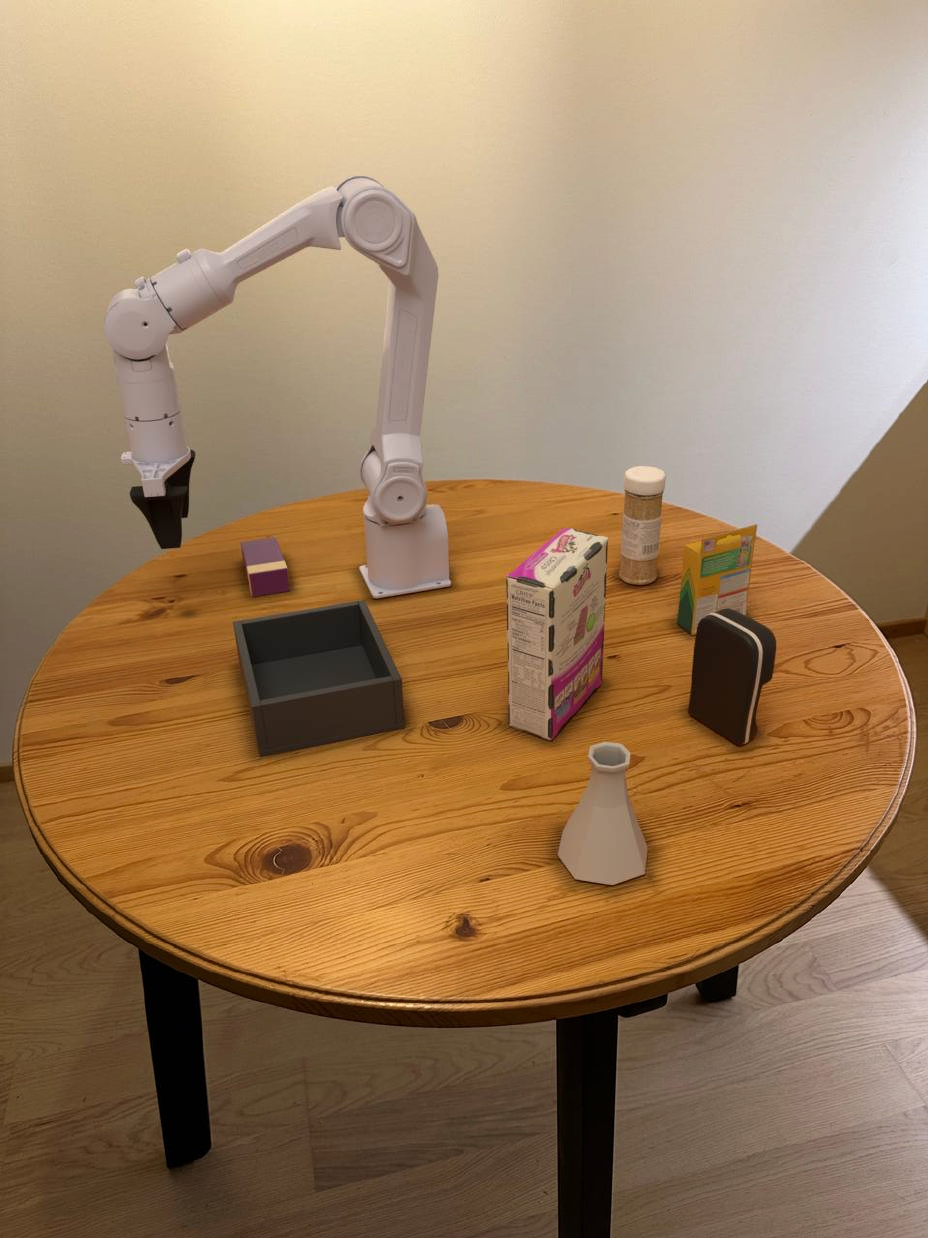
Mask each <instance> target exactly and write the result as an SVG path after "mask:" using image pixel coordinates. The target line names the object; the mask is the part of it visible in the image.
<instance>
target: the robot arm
mask: <svg viewBox="0 0 928 1238" xmlns="http://www.w3.org/2000/svg"><path fill="white" fill-rule="evenodd" d="M417 219H418V218H417V216H416V214H415V213H414V212H413V211H412V209H411V208H410V207H408V206H407V204H406V203H405V202H404V201H403V200H401V198H400V197H399V196H398V195H396V193H394V192H393V191H392V190H391V189H389V188H386V187H385V186H384V185H383V184H382V183H381V182H380V181H378V180H377V179H376V178H374V177H371V176H368V175H364V174H363V175H362V174H358V175H357V174H356V175H352V176H349V177H347V178H345V179H343V180H342V181H341V182H339V184H338V185H337V186H336V187H334V186H333V185H331V186H328V187H326V188H323V189H320V190H319V191H317V192H315V193H313V194H311V195H310V196H308V197H306V198H305V199H303V200H301V201H299V202H297V203H296V204H295V205H293V206H291V207H289V208H288V209H287V210H284V211H283V212H282V213H280V214H279V215H277V216H276V217H274V218H273V219H271V220H269V221H268V222H267V223H265V224H263V225H262V226H260V227H259V228H257V229H256V230H254V231H253V232H251V233H249V234H247V235H246V236H245V237H243V238H241V239H240V240H238V241H237V242H235V243H234V244H232V245H231V246H229V247H227V248H225V250H223V251H221V252H216V251H212V250H209V249H205V248H199V249H197V250H195V251H194V252H191V251H190V250H189V249H188V248H185V249H183V250H181V251H180V252H178V253H176V260H177V261H176V262H175V263H173V264H171V265H169V266H167V267H166V268H164V269H162V270H161V271H159V272H158V273H156V274H154V275H153V276H151V277H149V278H147V279H146V278H145V277H144V276H141V277H139V278H137V279H135V281H134V286H135V287H136V288H126V289H122V290H120V291H119V292H117V293H116V294H114V296H113V297H112V298H111V299H110V301H109V303H108V305H107V310H106V312H105V316H104V319H103V332H104V336H105V339H106V341H107V343H108V344H109V346H110V347H111V348H112V359H113V363H114V364H115V367H116V369H115V378H116V384H117V389H118V394H119V398H120V403H121V407H122V408H121V409H122V413H123V417H124V422H125V427H126V428H125V429H126V432H127V438H128V442H129V447H130V451H124V452H122V454H121V456H120V461H121V465H131V466H133V468H134V470H135V471H136V472H137V474H138V476H139V477H140V481H141V485H135V486H131V488H130V491H129V497H130V500H131V502H132V504H133V505H135V507H136V508H137V509H139V511H140V512H141V514H142V515H143V517H144V518H145V520H146V521H147V523H148V525H149V528H150V530H151V531H152V534H153V536H154V538H155V540H156V543H157V545H158V546H159V548H160V549H161V550H168V549H169V550H170V549H179V548H181V547H182V541H183V524H182V523H183V520H182V519H188V517H189V512H190V481H191V475H192V474H191V473H192V468H193V465H194V462H195V460H196V455H197V454H196V451H195V450H193V449H190V447H189V446H188V442H187V437H186V431H185V423H184V418H183V412H182V407H181V401H180V396H179V395H180V394H179V390H178V384H177V378H176V372H175V368H174V364H173V363H172V361H171V359H170V353H169V348H168V347H169V346H168V338H169V336H171V335H178V334H182V333H183V332H186V331H187V330H188V329H190V328H192V327H193V326H195V325H197V324H199V323H200V322H202V321H204V320H206V319H207V318H209V317H211V316H212V315H215V314H216V313H217V312H219V311H221V310H222V309H224V308H226V307H228V306H230V305H231V304H233V303H234V301H235V298H236V292H237V288H238V285H239V284H240V283H242V282H244V281H246V280H248V279H249V278H251V277H253V276H255V275H257V274H259V273H261V272H264V271H265V270H266V269H268V268H270V267H272V266H275V265H276V264H278V263H280V262H282V261H284V260H285V259H287V258H289V257H291V256H293V255H295V254H297V253H298V252H301V251H302V250H304V249H307V248H310V247H312V248H320V249H328V250H336V251H341V250H342V246H341V241H340V238H344V239H345V240H346V242H347V243H348V245H350V247H351V248H352V249H353V250H355V251H356V252H357V253H359V254H360V255H362V256H364V257H365V258H366V259H368V260H371V261H373V263H375V264H376V265H377V266H378V268H379V269H380V270H381V271H382V272H383V274H384V275H385V276H386V277H387V280H388V289H387V290H388V292H387V301H386V313H385V324H384V333H383V344H382V356H381V367H380V377H379V389H378V399H377V409H376V421H375V425H374V427H373V429H372V431H371V434H370V441H369V445H368V448H367V450H366V452H365V453H364V456H363V457H362V459H361V461H360V464H359V476H360V480H361V481H362V484H363V485H364V487H365V488H366V490H367V493H368V497H367V500H366V501H365V503H364V505H363V507H362V515H363V529H364V540H365V541H364V542H365V552H366V553H365V554H366V564H364V565H359V567H358V568H359V569H358V570H359V572H360V574H361V576H362V578H363V580H364V582H365V585H366V587H367V589H368V591H369V593H370V595H371V597H372V598H373V599H383V598H388V597H395V596H401V595H407V594H412V593H419V592H423V591H424V592H425V591H431V590H437V589H442V588H448V587H451V586H452V580H451V579H450V554H449V552H450V549H449V531H448V524H447V520H446V519H447V518H446V516H445V513H444V511H443V509H442V507H441V506H440V505H439V504H427V503H428V497H429V496H428V495H429V493H428V487H427V485H426V483H425V480H424V477H423V468H424V458H423V457H424V456H423V451H422V443H421V430H422V420H423V411H424V405H425V404H424V403H425V395H426V387H427V377H428V370H429V361H430V360H429V359H430V352H431V343H432V335H433V333H432V332H433V326H434V317H435V308H436V301H437V291H438V282H439V267H438V263H437V261H436V260H435V257H434V255H433V252H432V251H431V249H430V247H429V244H428V242H427V240H426V239H425V236H424V234H423V232H422V230H421V228H420V225H419V223H418V220H417Z"/></svg>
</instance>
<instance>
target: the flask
mask: <svg viewBox="0 0 928 1238" xmlns="http://www.w3.org/2000/svg"><path fill="white" fill-rule="evenodd" d="M631 756H632V754H631V752H630V751H629V750H628V749H627V748H626V746H624V744H623V743H619V742H610V741H602V742H599V743H595V744H592V745H590V746H589V751H588V755H587V761H588V763H589V764H590V766H591V767H590V776H589V779H588V782H587V786H586V788H585V790H584V791H583V793H582V796H581V798H580V799H579V801H578V803H577V805H576V807H575V809H574V810H573V811H572V814H570V815H571V816H570V817H569V818H568V820H567V821H566V824H565V826H564V827H563V830H562V833H561V838H560V841H559V845H558V846H559V847H558V851H557V856H558V858H559V860H561V862H562V863H563V865H564V866H565V867H566V869H567V870H568V871H569V873H570V874H571V876H572V877H573V879H575V880H578V881H585V882H591V883H597V884H603V885H608V886H614V885H617V884H620V883H623V882H625V881H628V880H631V879H634V878H637V877H640V876H642V875H645V874H646V869H647V868H646V867H647V858H648V849H649V848H648V845H647V842H646V839H645V836H644V833H643V831H642V828H641V826H640V824H639V821H638V818H637V816H636V813H635V809H634V806H633V804H632V801H631V798H630V795H629V791H628V785H627V784H628V783H627V776H626V770H629V768H630V764H631Z"/></svg>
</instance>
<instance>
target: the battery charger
mask: <svg viewBox="0 0 928 1238" xmlns="http://www.w3.org/2000/svg"><path fill="white" fill-rule="evenodd" d="M776 655H777V638H776V636H775V634H774V632H773V631H772V629H770V628H769V627H767V626H766V625H764V623H763V624H762V623H761V622H759V621H757V620H755V619H753V618H751V617H750V616H748V615H747V614H746V615H744V614H742V613H739V612H737V611H735V610H733V609H729V608H726V609H721V610H719V611H717V612H714V613H709V614H707V615H705V616H704V617H703V618H702V619H701V620H700V621H699V623H698V626H697V631H696V635H695V638H694V645H693V655H692V667H691V684H690V693H689V701H688V708H687V713H688V714H689V715H691V716H692V717H693V718H695V720H697V721H699V722H701V723H702V724H704V725H705V726H707V727H709V728H710V729H711V730H712V731H714V732H715V733H718V734H719V735H721V736H722V737H724V738H725V739H727V740H729V741H730V742H733V743H734V744H735V745H738V746H740V745H741V746H742V745H745V744H747V743H748V742H749V741H751V740H752V739H754V738H755V737H756V735H757V734H758V726H757V719H756V717H757V710H758V706H759V702H760V697H761V692H762V689H763V686H764V685H767V684H768V683H769V682H771V681H772V679H773V676H774V670H775V663H776Z"/></svg>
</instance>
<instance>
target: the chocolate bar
mask: <svg viewBox="0 0 928 1238" xmlns="http://www.w3.org/2000/svg"><path fill="white" fill-rule="evenodd" d="M240 550H241V556H242V563H243V566H244V567H243V568H244V571H245V574H246V579H247V583H248V586H249V591H250V595H251V597H252V598H255V597H261V596H268V595H273V594H281V593H285V592H290V591H291V586H290V577H289V569H288V566H287V563H286V560H285V558H284V554H283V553H282V551H281V547H280V544H279V542H278V537H276V536H274V537H268V538H261V539H254V540H253V539H252V540H247V541H240Z"/></svg>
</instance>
